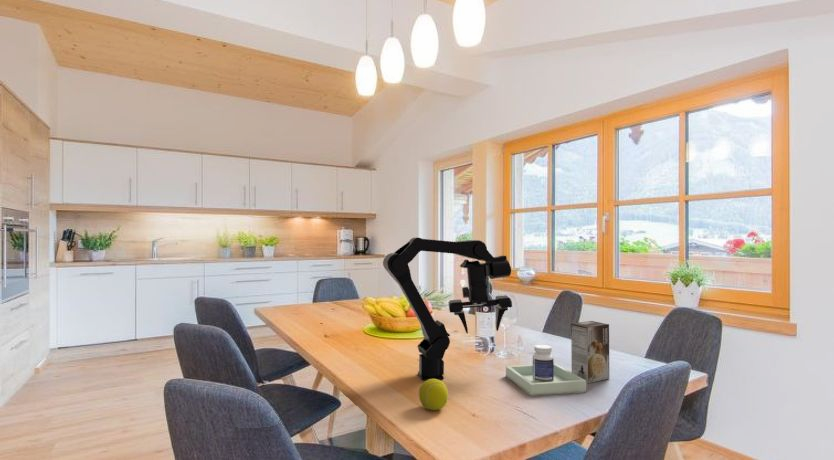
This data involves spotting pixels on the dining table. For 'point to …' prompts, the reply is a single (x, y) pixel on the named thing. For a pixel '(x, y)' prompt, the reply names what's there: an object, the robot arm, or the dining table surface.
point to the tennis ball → (433, 394)
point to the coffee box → (590, 350)
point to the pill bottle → (543, 364)
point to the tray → (561, 384)
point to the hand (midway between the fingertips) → (482, 331)
